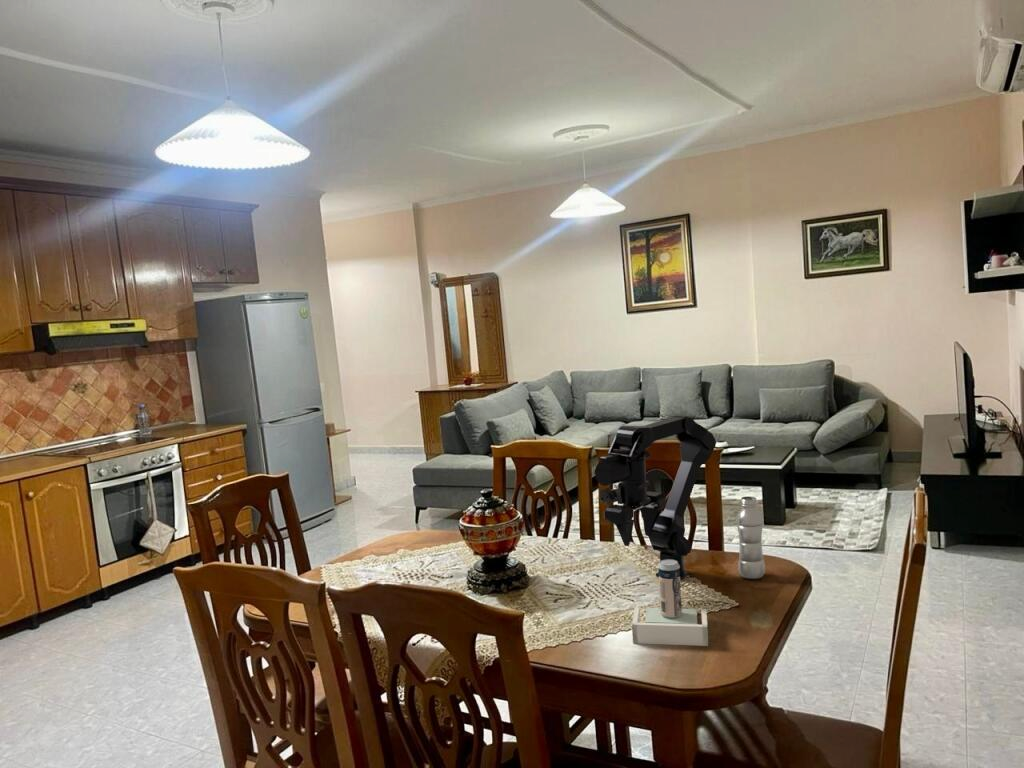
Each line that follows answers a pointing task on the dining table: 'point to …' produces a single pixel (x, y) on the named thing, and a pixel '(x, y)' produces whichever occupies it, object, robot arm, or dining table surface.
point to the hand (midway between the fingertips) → (637, 540)
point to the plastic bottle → (750, 539)
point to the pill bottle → (669, 588)
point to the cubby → (669, 632)
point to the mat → (686, 618)
